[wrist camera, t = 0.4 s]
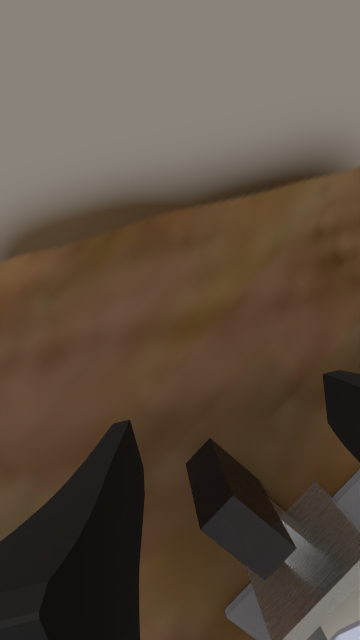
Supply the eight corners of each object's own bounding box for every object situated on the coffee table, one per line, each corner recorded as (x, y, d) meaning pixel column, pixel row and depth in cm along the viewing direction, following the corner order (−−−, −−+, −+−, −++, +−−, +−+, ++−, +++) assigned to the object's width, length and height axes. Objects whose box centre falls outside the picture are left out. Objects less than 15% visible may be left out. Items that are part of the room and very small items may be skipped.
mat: (341, 697, 27) (346, 706, 26) (224, 609, 24) (226, 617, 24) (476, 560, 26) (483, 566, 26) (369, 458, 24) (375, 462, 23)
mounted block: (253, 565, 24) (287, 658, 18) (159, 491, 23) (164, 567, 17) (325, 489, 24) (384, 558, 18) (236, 410, 22) (269, 457, 16)
